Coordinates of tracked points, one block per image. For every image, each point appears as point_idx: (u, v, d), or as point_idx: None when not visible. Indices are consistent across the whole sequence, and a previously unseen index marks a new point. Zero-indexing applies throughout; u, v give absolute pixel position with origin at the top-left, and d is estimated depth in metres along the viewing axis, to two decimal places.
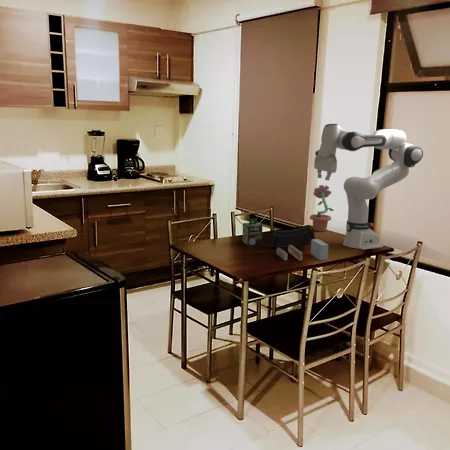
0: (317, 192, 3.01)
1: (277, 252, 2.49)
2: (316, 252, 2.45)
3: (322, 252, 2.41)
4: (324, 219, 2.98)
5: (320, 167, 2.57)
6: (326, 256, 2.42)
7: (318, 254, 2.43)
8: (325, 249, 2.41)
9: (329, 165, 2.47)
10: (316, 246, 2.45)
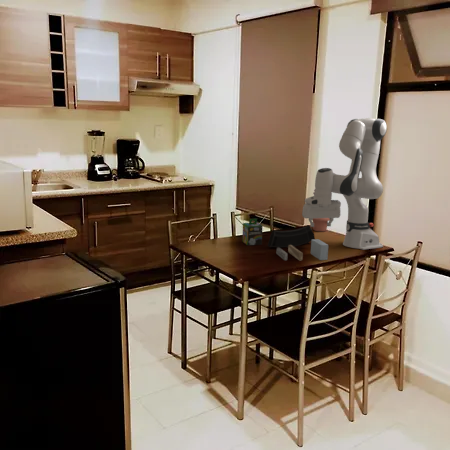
0: None
1: (277, 252, 2.49)
2: (316, 252, 2.45)
3: (322, 252, 2.41)
4: (324, 219, 2.98)
5: (319, 215, 2.40)
6: (326, 256, 2.42)
7: (318, 254, 2.43)
8: (325, 249, 2.41)
9: (337, 211, 2.42)
10: (316, 246, 2.45)
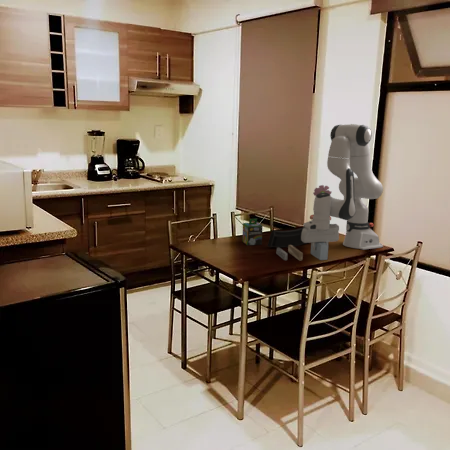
0: (317, 192, 3.01)
1: (277, 252, 2.49)
2: (316, 252, 2.45)
3: (322, 252, 2.41)
4: None
5: (318, 239, 2.43)
6: (327, 255, 2.42)
7: (318, 254, 2.43)
8: (325, 249, 2.41)
9: (336, 235, 2.45)
10: (316, 246, 2.45)
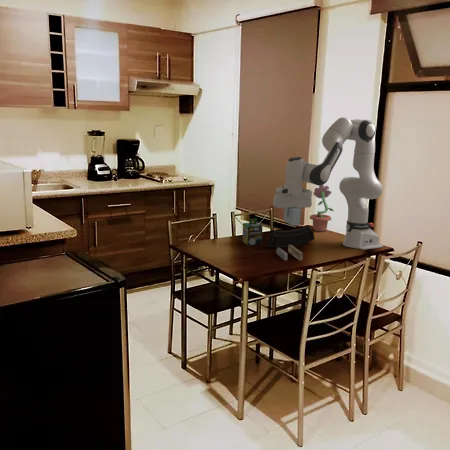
0: (317, 192, 3.01)
1: (277, 252, 2.49)
2: (289, 217, 2.40)
3: (294, 217, 2.35)
4: (324, 219, 2.98)
5: (290, 205, 2.38)
6: (299, 221, 2.37)
7: (291, 219, 2.37)
8: (298, 214, 2.35)
9: (308, 200, 2.40)
10: (288, 211, 2.40)
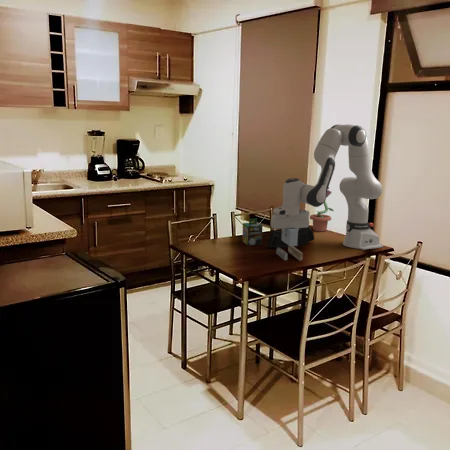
0: None
1: (277, 252, 2.49)
2: (286, 238, 2.42)
3: (292, 238, 2.38)
4: (324, 219, 2.98)
5: (288, 225, 2.41)
6: (296, 241, 2.39)
7: (288, 240, 2.40)
8: (295, 235, 2.38)
9: (306, 221, 2.43)
10: (286, 232, 2.42)
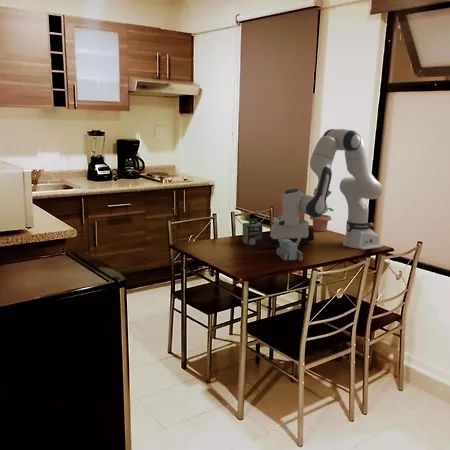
0: None
1: (277, 252, 2.49)
2: (286, 252, 2.44)
3: (291, 252, 2.40)
4: (324, 219, 2.98)
5: (287, 236, 2.42)
6: (296, 256, 2.41)
7: (288, 254, 2.42)
8: (294, 249, 2.40)
9: (305, 231, 2.44)
10: (286, 246, 2.44)
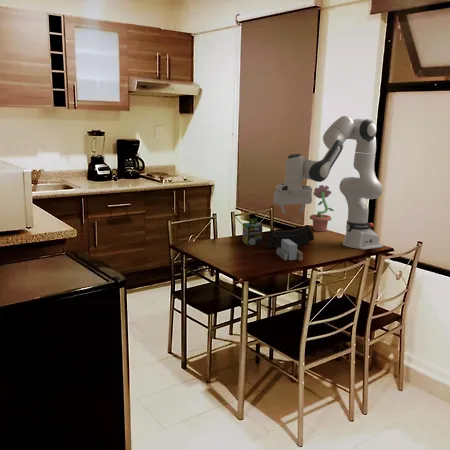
0: (317, 192, 3.01)
1: (277, 252, 2.49)
2: (286, 252, 2.44)
3: (291, 252, 2.40)
4: (324, 219, 2.98)
5: (290, 201, 2.39)
6: (296, 256, 2.41)
7: (288, 254, 2.42)
8: (294, 249, 2.40)
9: (309, 197, 2.41)
10: (286, 246, 2.44)
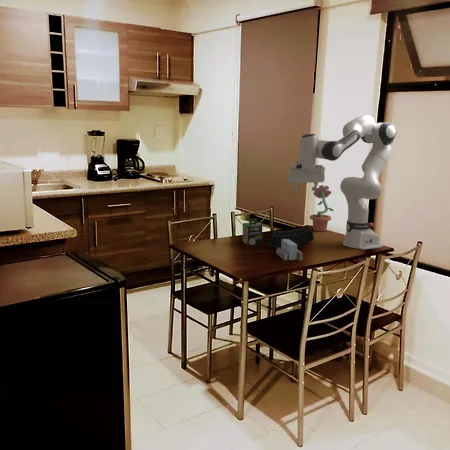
0: (317, 192, 3.01)
1: (277, 252, 2.49)
2: (286, 252, 2.44)
3: (291, 252, 2.40)
4: (324, 219, 2.98)
5: (304, 180, 2.48)
6: (296, 256, 2.41)
7: (288, 254, 2.42)
8: (294, 249, 2.40)
9: (321, 175, 2.50)
10: (286, 246, 2.44)
